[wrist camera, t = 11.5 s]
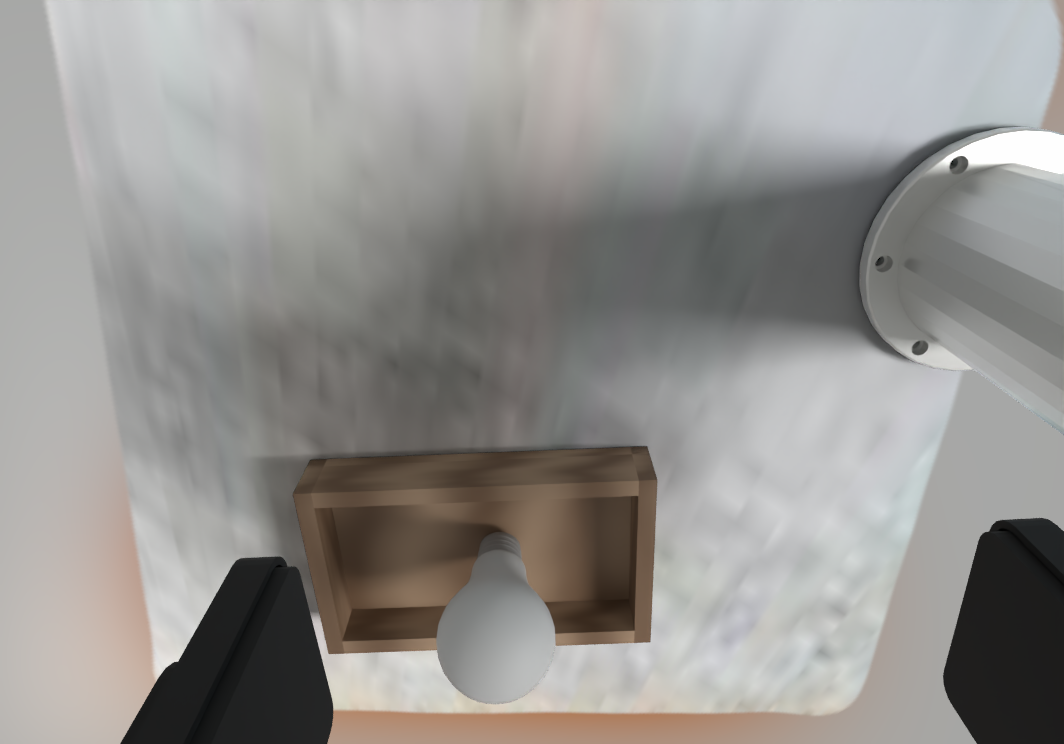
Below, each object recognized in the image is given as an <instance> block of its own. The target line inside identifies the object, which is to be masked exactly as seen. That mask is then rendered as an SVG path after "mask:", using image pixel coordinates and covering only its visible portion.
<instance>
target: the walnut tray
mask: <svg viewBox="0 0 1064 744" xmlns="http://www.w3.org/2000/svg"><path fill="white" fill-rule="evenodd" d="M293 497H294V502H295V506H296V511H297V515H298V520H299V524H300V528H301V533H302V537H303V542H304V546H305V551H306V555H307V560H308V564H309V569H310V573H311V577H312V582H313V586H314V591H315V595H316V600H317V604H318V609H319V613H320V618H321V622H322V626H323V631H324V635H325V640H326V644H327V649H328V653H329V654H344V653H371V652H398V651H425V650H437V644H436V638H437V631H438V624H439V621H440V619H441V617H442V614H443V612H444V610H445V608H446V606H447V605H448V603H449V602H450V600H451V599H452V598H453V597H454V596H455V595H456V594H457V593H458V592H459V591H460V590H461V589H462V588H463V587H464V586H465V585H466V584H467V583H468V582H469V580H470V577H471V573H472V568H473V565H474V563H475V561H476V560H477V557H478V552H479V548H480V543H481V541H482V540H483V539H484V538H485V537H486V536H487V535H489V534H491V533H494V532H505V533H509V534H511V535H513V536H514V537H515V538H516V539H517V540H518V541H519V543H520V548H521V556H522V562H523V563H524V565H525V568H526V577H527V581H528V584H529V585H530V587H531V588H532V589H533V590H534V591H535V592H536V593H537V594H538V595H539V596H540V598H541V599H542V600H543V601H544V603H545V604H546V606H547V608H548V609H549V612H550V614H551V617H552V620H553V623H554V627H555V642H556V645H555V646H561V645H588V644H615V643H643V642H650V638H651V615H652V591H653V568H654V545H655V521H656V498H657V477H656V474H655V471H654V467H653V464H652V461H651V457H650V454H649V451H648V448H647V447H621V448H596V449H570V450H545V451H519V452H494V453H469V454H443V455H418V456H392V457H367V458H342V459H316V460H310V462H309V464H308V465H307V467H306V469H305V471H304V473H303V475H302V477H301V479H300V481H299V483H298V485H297V487H296V489H295V491H294V493H293Z"/></svg>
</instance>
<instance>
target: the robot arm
mask: <svg viewBox="0 0 1064 744" xmlns="http://www.w3.org/2000/svg"><path fill="white" fill-rule="evenodd" d="M952 160H953V163H952V165H951V166H950V163H951V161H952ZM879 258H880V260H879V261H878V262H877V263H876V261H877V260H878V259H879ZM859 288H860V292H861V297H862V302H863V307H864V309H865V311H866V314H867V316H868V318H869V320H870V322H871V325H872V326H873V327H874V328H875V330H876V331H877V332H878V333H879V335H880V336H881V337H882V339H883V340H885V341H886V342H887V343H888V344H889V345H891V346H892V347H893V348H894V349H895V350H896V351H897V352H899V353H900V354H902V355H903V356H905V357H907V358H908V359H910V360H912V361H914V362H917V363H919V364H922V365H925V366H928V367H931V368H936V369H943V370H950V371H964V370H975V371H977V372H978V373H979V374H981V375H982V376H984V377H985V378H986V379H988V380H989V381H991V382H992V383H993V384H995V385H996V386H997V387H999V388H1000V389H1001V390H1003V391H1004V392H1006V393H1007V394H1008V395H1010V396H1011V397H1012V398H1014V399H1015V400H1016V401H1018V402H1019V403H1021V404H1022V405H1023V406H1025V407H1026V408H1027V409H1029V410H1030V411H1032V412H1033V413H1034V414H1036V415H1037V416H1038V417H1040V418H1041V419H1042V420H1044V421H1045V422H1047V423H1048V424H1049V425H1051V426H1052V427H1053V428H1055V429H1056V430H1058V431H1059V432H1060V433H1062V434H1063V435H1064V134H1060V133H1057V132H1054V131H1050V130H1045V129H1038V128H1031V127H1008V128H998V129H993V130H989V131H985V132H980V133H976V134H973V135H971V136H968V137H966V138H964V139H961V140H959V141H957V142H954V143H952V144H949V145H948V146H946V147H945V148H943V149H941V150H940V151H938V152H937V153H935V154H933V155H932V156H930V157H929V158H927V159H926V160H924V161H923V162H922V163H921V164H920V165H919V166H917V167H916V168H915V169H914V170H913V171H912V172H911V173H909V174H908V175H907V176H906V177H905V178H904V179H903V180H902V181H901V183H900V184H899V185H898V186H897V187H896V188H895V190H894V191H893V192H892V193H891V194H890V195H889V197H888V198H887V199H886V201H885V203H884V204H883V206H882V207H881V209H880V211H879V212H878V214H877V216H876V217H875V219H874V221H873V223H872V226H871V228H870V230H869V233H868V235H867V238H866V240H865V243H864V247H863V252H862V257H861V261H860V278H859ZM943 679H944V687H945V690H946V693H947V696H948V698H949V700H950V702H951V704H952V705H953V707H954V709H955V710H956V711H957V713H958V715H959V716H960V718H961V720H962V721H963V723H964V724H965V726H966V727H967V729H968V730H969V732H970V734H971V735H972V737H973V738H974V740H975V741H976V743H977V744H1064V531H1063V530H1061V529H1060V528H1059V527H1058V526H1057V525H1056V524H1054V523H1053V522H1052V521H1050V520H1048V519H1044V518H1033V519H1013V520H1000V521H996V522H995V523H994V524H993V525H992V527H991V529H990V531H989V532H985V533H983V534H982V535H981V537H980V539H979V541H978V545H977V549H976V553H975V556H974V560H973V564H972V568H971V572H970V575H969V579H968V583H967V586H966V591H965V594H964V598H963V602H962V605H961V609H960V613H959V617H958V620H957V624H956V628H955V632H954V635H953V639H952V643H951V646H950V650H949V654H948V658H947V662H946V666H945V669H944V675H943ZM332 721H333V702H332V697H331V693H330V689H329V686H328V682H327V678H326V674H325V670H324V666H323V662H322V658H321V654H320V650H319V646H318V642H317V639H316V635H315V631H314V627H313V623H312V619H311V615H310V611H309V607H308V603H307V599H306V595H305V592H304V588H303V584H302V580H301V576H300V573H299V570H298V569H297V567H287V564H286V562H285V560H284V559H283V558H282V557H259V558H240V559H239V560H237V561H236V562H235V563H234V564H233V566H232V567H231V569H230V571H229V573H228V574H227V576H226V578H225V580H224V582H223V583H222V585H221V587H220V589H219V590H218V592H217V594H216V596H215V597H214V599H213V601H212V603H211V605H210V606H209V608H208V610H207V612H206V613H205V615H204V617H203V619H202V621H201V622H200V624H199V626H198V628H197V629H196V631H195V633H194V635H193V637H192V638H191V640H190V642H189V644H188V645H187V647H186V649H185V651H184V653H183V654H182V656H181V658H180V660H179V661H178V662H174V663H172V664H171V665H169V666H168V667H167V668H166V669H165V670H164V671H163V673H162V674H161V675H160V677H159V678H158V680H157V681H156V683H155V685H154V687H153V688H152V690H151V692H150V693H149V695H148V697H147V699H146V700H145V702H144V704H143V706H142V707H141V709H140V711H139V712H138V714H137V716H136V718H135V720H134V721H133V723H132V724H131V726H130V728H129V730H128V731H127V733H126V735H125V737H124V738H123V740H122V742H121V744H327V742H328V739H329V735H330V731H331V727H332Z"/></svg>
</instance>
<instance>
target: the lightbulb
mask: <svg viewBox="0 0 1064 744" xmlns="http://www.w3.org/2000/svg"><path fill="white" fill-rule="evenodd" d="M436 644H437V652H438V658H439V661H440V664H441V667H442V669H443V672H444V674H445V675H446V676H447V678H448V679H449V681H450V682H451V683H452V685H453V686H454V687H455V688H456V689H458V690H459V691H460V692H461V693H462V694H464V695H465V696H467V697H469V698H470V699H473V700H475V701H477V702H482V703H486V704H503V703H509V702H512V701H515V700H518V699H519V698H521V697H523V696H525V695H526V694H528V693H529V692H530V691H532V690H533V689H534V688H535V687H536V686H537V685H538V684H539V683H540V681H541V680H542V679H543V678H544V677H545V675H546V673H547V671H548V669H549V667H550V665H551V662H552V659H553V655H554V650H555V645H556V642H555V627H554V623H553V620H552V617H551V614H550V612H549V609H548V608H547V606H546V604H545V603H544V601H543V600H542V599H541V598H540V596H539V595H538V594H537V593H536V592H535V591H534V590H533V589H532V588H531V587H530V585H529V584H528V581H527V577H526V568H525V565H524V563H523V562H522V556H521V548H520V543H519V541H518V540H517V539H516V538H515V537H514V536H513V535H511V534H509V533H505V532H494V533H491V534H489V535H487V536H486V537H485V538H484V539H483V540H482V541H481V543H480V548H479V552H478V557H477V560H476V561H475V563H474V565H473V568H472V573H471V577H470V580H469V582H468V583H467V584H466V585H465V586H464V587H463V588H462V589H461V590H460V591H459V592H458V593H457V594H456V595H455V596H454V597H453V598H452V599H451V600H450V602H449V603H448V605H447V606H446V608H445V610H444V612H443V614H442V617H441V619H440V621H439V624H438V631H437V638H436Z"/></svg>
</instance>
